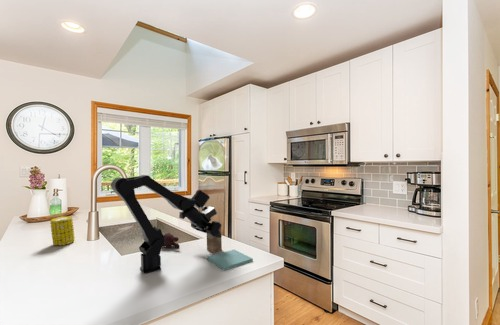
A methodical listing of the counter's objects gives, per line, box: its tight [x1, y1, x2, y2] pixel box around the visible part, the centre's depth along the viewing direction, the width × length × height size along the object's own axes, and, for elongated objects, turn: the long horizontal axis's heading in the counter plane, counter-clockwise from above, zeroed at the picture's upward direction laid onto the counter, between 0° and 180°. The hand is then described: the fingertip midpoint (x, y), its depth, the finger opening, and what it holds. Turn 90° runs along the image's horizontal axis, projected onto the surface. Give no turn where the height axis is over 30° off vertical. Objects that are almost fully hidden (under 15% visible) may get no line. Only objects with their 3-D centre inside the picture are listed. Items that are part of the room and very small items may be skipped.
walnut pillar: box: [206, 226, 223, 254], centre depth 121 cm, size 5×5×12 cm
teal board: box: [206, 249, 254, 271], centre depth 108 cm, size 14×14×1 cm
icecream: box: [162, 232, 180, 249], centre depth 127 cm, size 7×7×15 cm
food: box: [50, 215, 76, 246], centre depth 135 cm, size 15×12×10 cm
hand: (216, 235), depth 122 cm, fingers open, 7 cm apart
